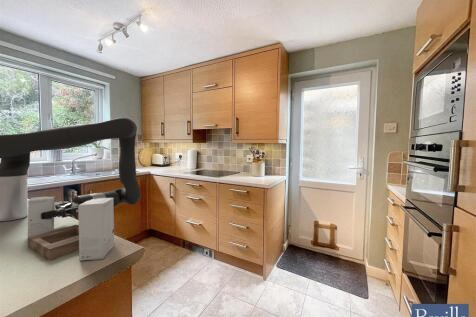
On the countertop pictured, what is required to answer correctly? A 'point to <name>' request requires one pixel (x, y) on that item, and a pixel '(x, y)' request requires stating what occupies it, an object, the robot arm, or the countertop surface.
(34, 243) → the socket block
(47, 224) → the skincare box
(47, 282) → the countertop surface
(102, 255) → the skincare box
